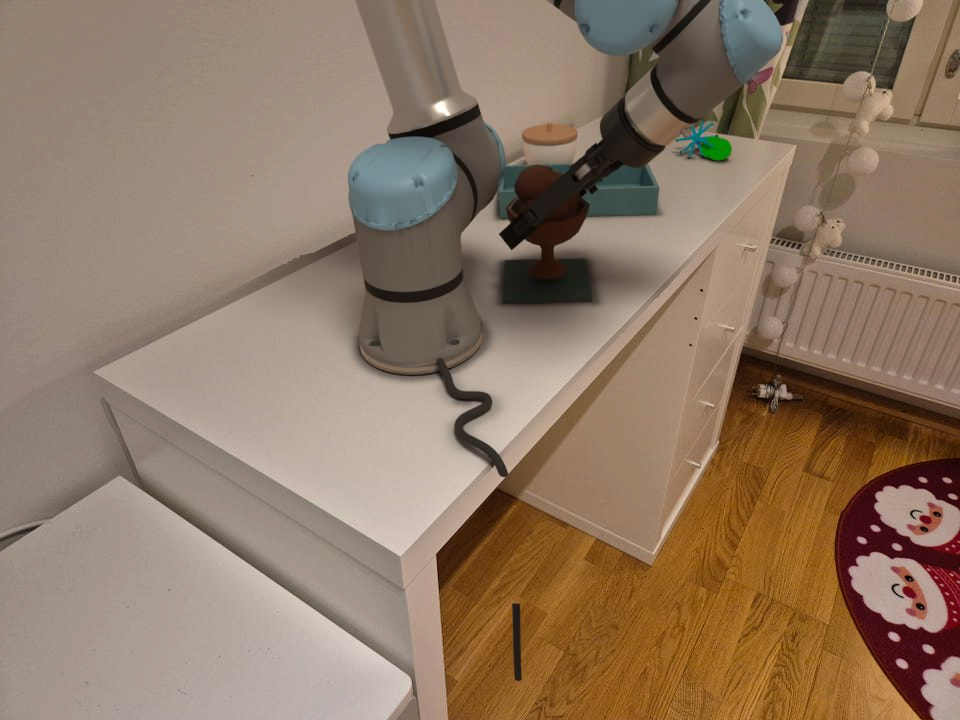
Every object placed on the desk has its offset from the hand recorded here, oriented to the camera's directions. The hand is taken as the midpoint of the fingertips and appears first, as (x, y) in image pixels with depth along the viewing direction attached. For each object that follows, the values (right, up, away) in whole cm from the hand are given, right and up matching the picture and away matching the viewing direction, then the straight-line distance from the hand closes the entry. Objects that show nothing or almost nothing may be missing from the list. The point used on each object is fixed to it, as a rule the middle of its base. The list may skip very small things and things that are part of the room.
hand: (529, 225), depth 90 cm
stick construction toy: (+39, +24, +45) cm, 64 cm away
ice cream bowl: (+3, -6, +2) cm, 7 cm away
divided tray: (+10, +10, +27) cm, 31 cm away
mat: (+3, -7, +3) cm, 8 cm away
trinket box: (+7, +19, +42) cm, 46 cm away
